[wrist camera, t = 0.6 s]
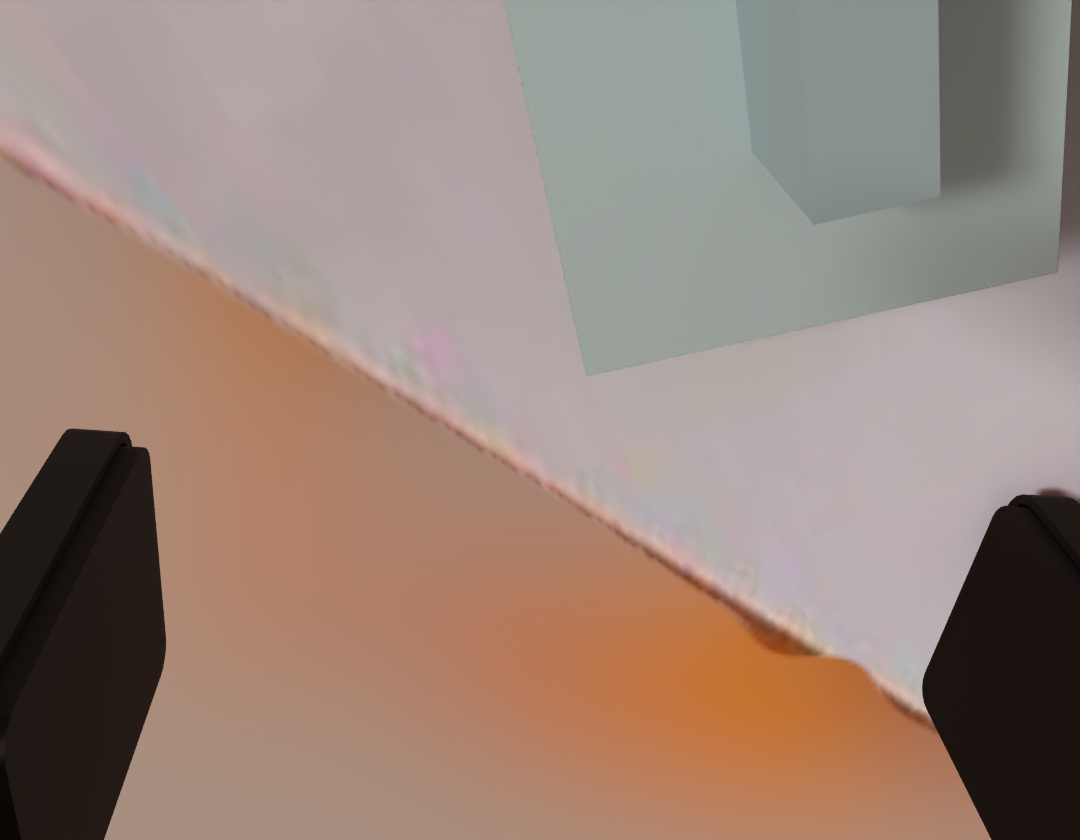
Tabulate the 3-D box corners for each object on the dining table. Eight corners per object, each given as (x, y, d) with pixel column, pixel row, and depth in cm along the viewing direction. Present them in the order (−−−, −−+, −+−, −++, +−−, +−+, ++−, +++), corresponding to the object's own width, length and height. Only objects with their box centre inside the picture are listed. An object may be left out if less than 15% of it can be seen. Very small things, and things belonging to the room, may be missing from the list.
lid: (1049, -498, 24) (1291, -623, 17) (1024, 246, 34) (1171, 361, 27) (429, -336, 25) (417, -392, 18) (579, 345, 35) (609, 482, 28)
